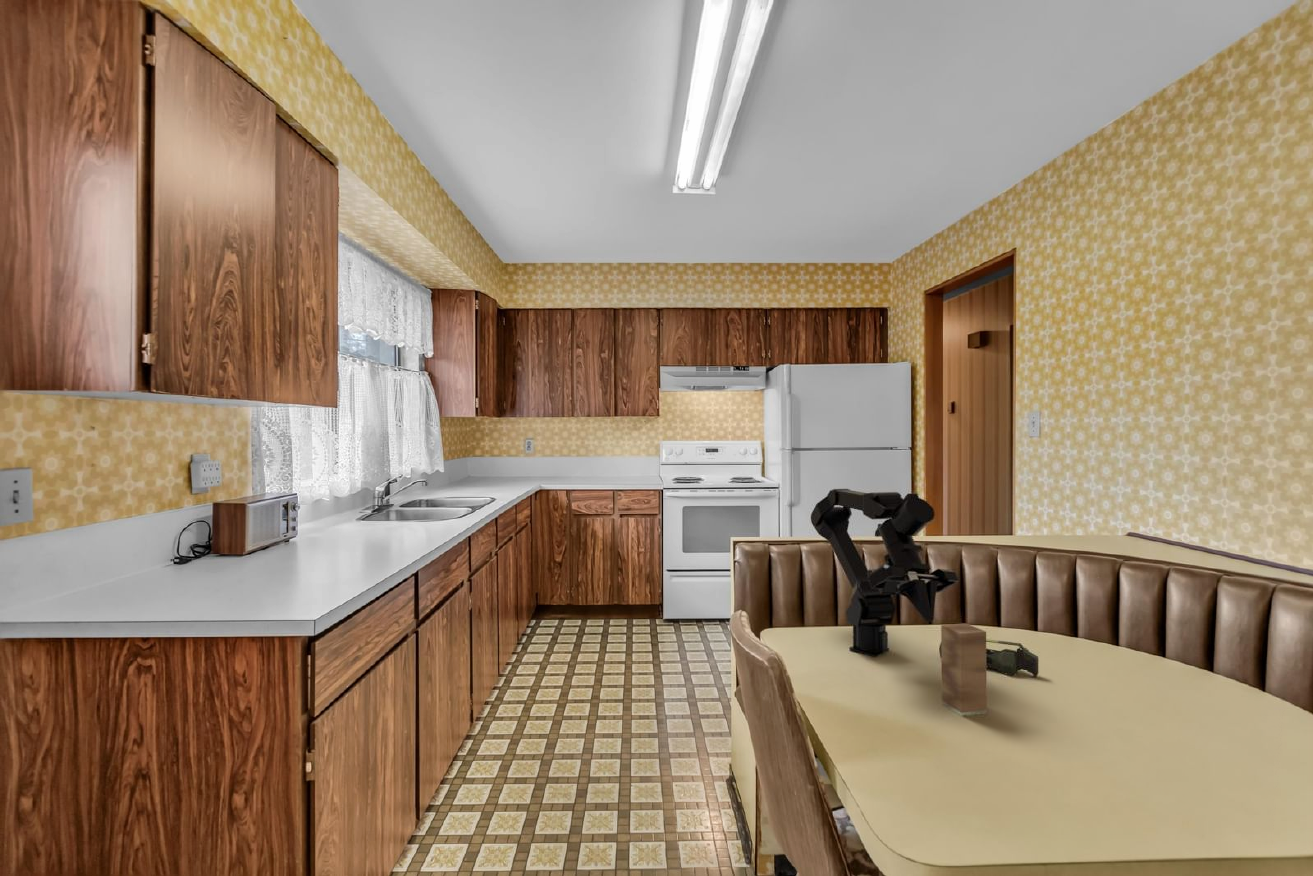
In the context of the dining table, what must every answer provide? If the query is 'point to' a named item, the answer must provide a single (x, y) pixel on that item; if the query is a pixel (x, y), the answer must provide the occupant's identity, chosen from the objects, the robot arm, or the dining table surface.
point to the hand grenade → (1010, 659)
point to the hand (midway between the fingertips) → (930, 621)
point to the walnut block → (964, 669)
